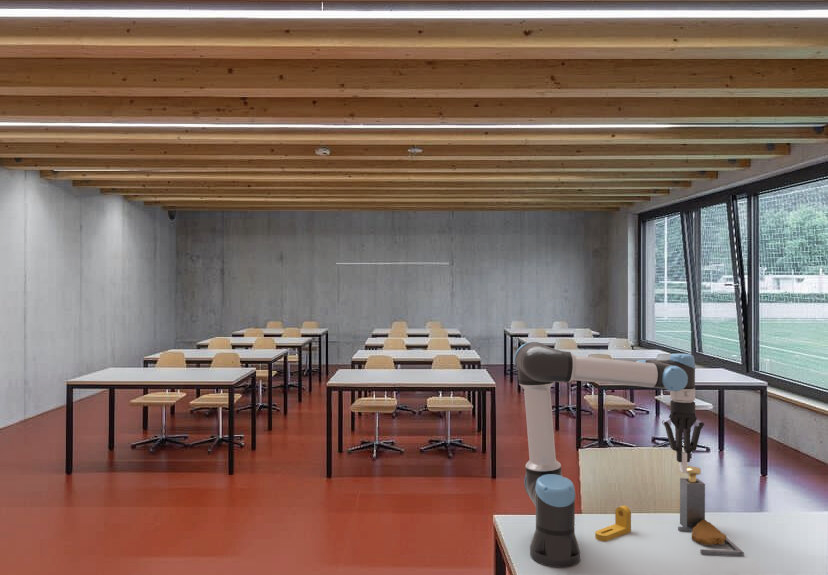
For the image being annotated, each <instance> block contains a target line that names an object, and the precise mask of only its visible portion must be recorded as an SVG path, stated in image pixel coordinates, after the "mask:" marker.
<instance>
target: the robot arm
mask: <svg viewBox="0 0 828 575" xmlns="http://www.w3.org/2000/svg"><path fill="white" fill-rule="evenodd" d="M514 364H515V367H516V369H517V374H518V375H517V377H518V385H519V386H520V387H521V388H523V393H524V404H525V405H524V407H525V418H526V429H527V430H526V432H527V443H528V446H527V447H528V456H529V457H528V458H529V459H528V461H527V462H526V464H525V476H524V481H523V482H524V488H525V489H524V490H525V492H526V493H527V495H528V497H529V498H530V501H532V504H533V505H534V506H535V530H534V533H533V536H532V539H531V542H530V545H529V555H530V557H531V559H533V560H534V561H535V562H537V563H539V564H542V565H544V566H548V567H553V568H569V567H573V566H576V565H578V564H579V563H580V561H581V549H580V546H579V542H578V540H577V537H576V533H575V525H576V524H575V520H576V519H575V518H576V516H575V513H576V511H575V510H576V508H575V506H576V503H575V501H576V490H575V485H574V483H573V481H572V480H571V479H569V478H568V477H564V475H562V474H563V473H562V464H561V462H560V461H559V460H557V457H556V447H555V433H554V432H555V431H554V418H553V409H552V393H551V388H552V386H553V385H554V383H567V384H569V383H571V382H572V381H581V382H591V383H601V384H602V383H603V384H614V385H622V386H631V387H634V386H635V387H645V388H655V389H662V390H663V389H665V390H668V391H670V392H669V393H670V394H669V395H670V399H671V400H670V403H669V405H670V410H669V411H670V414H669V416H668V418H667V419H666V420H662V421H661V423H662V425H663V426H664V428H665V432H666V436H667V439H668V443H669V447H670V449H671V450H673V451H675V452H676V461H677V462H678V463H679V472H681V473H682V474H688V473H687V466H688V463H690V461H691V454H692V452H695V451H696V450H697V448H698V443H699V439H700V434H701V431H702V429H703V428H704V426H705V423H704V422H703V421H701V420H699V419H698V418H697V415H696V402H695V400H696V365H695V364H696V361H695V357H694V355H692V354H690V353H689V354H688V353H678V352H677V353H671V354H669V358H668V359H660V360H657V359H641V360H639V359H638V360H636V361H633V360H632V361H631V360H622V359H614V358H613V359H610V358H602V357H593V356H592V357H591V356H583V355H582V356H581V355H574V353H572V351H565V350H564V351H563V350H559V349H556V348H552V347H549V346H547V345H544V344H543V343H541V342H538V341H528V342H525V343H524V344H522V345H521V346H519V348H518V349H517V350H516V352H515V355H514ZM672 424H673V426H674V428H675V429H674V430H675V435H674V433H673V429H672V427H671V426H672ZM693 425H694V428H693V430H692V427H693ZM691 432H692V434H691Z"/></svg>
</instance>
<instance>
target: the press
mask: <svg viewBox="0 0 828 575" xmlns="http://www.w3.org/2000/svg"><path fill="white" fill-rule="evenodd" d="M679 485H680V486H679V524H680V525H681V526H677V530H678V532H684V533H685V532H686V533H687V532H689V533H693V528H694V527H695V526H696V525H697V524H698V523H699V522H701V521H702V520H706V483H705V482H703V481H702V480H700V479H699V478H697V477H696V483H689V477H680V479H679ZM716 529H717V530H719V529H718V528H717V527H716ZM724 544H725V545H727V546H728V547H729V548H730V550H729V549H728V550H727V549H705V548H704V549H703V548H701V549H700V550H699V551H700V552H699V553H700V554H701V556H727V557H744V556H745V552H744V551H743V550H742V549H740V548H739V546H738V545H736V544H735V543H734V542H733V541H731V540H730V539H729V538H728V537H727V536H726V539H725V543H724Z"/></svg>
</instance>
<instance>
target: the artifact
mask: <svg viewBox="0 0 828 575" xmlns="http://www.w3.org/2000/svg"><path fill="white" fill-rule="evenodd" d="M716 528H717V527H716V526H715V525H713V524H712V523H711V522H709V521H707V520H706V519H705V520H702V521H701V522H699V523H698V524H697V525H696V526H695V527H694V528H693V532H691V540H692V541H694V542H695V543H697V544H701V545H703V546H714V545H719V546H721V545H723V544H726V543H725V539H726V537H727V535H726V534H725V533H723V532H721V531H720V530H719V529H718V528H717V529H718V530H717V529H716Z"/></svg>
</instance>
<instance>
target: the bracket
mask: <svg viewBox="0 0 828 575" xmlns="http://www.w3.org/2000/svg"><path fill="white" fill-rule="evenodd" d="M631 511H632V510H631V509H630V508H629V506H626V505H620V506H618V507H616V508H615V513H614V515H615V516H614V518H615V523H614V524H611V525H608V526H606V527H602V528H601V529H599V530H595V533H594V538H595V539H596V540H597V541H600V542H609V541H610V540H613V539H616V538H619V537H621V536H624V535H627V534H629V533H631V532H632V512H631Z"/></svg>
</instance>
